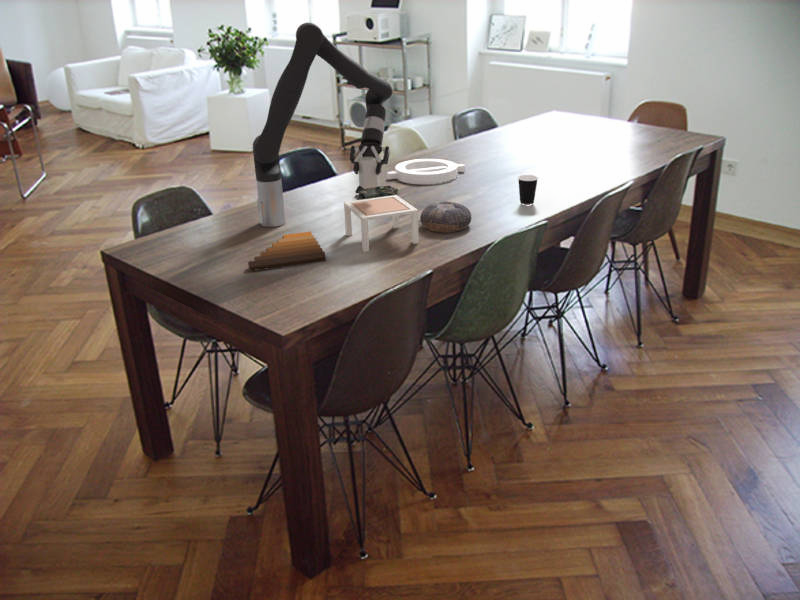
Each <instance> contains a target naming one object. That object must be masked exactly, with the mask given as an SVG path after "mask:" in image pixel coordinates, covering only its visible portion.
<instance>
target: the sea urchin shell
mask: <svg viewBox="0 0 800 600" xmlns="http://www.w3.org/2000/svg"><path fill="white" fill-rule="evenodd" d="M419 218H420V223H421V225H422V226H423V227H424V228H425V229H427V230H430V231H431V232H434V233H435V232H436V233H442V234H448V233H449V232H450V233H453V232H455V231H456V232H458V231H460V230H462V231H463V230H465V229H466V228H467V227H468V226H469V225H470V224H471V223H472V222H471V221H472V212H471V211H470V209H469V208H468V207H466V206H465V205H463V204H461V203H457V202H455V201H447V200H445V201H440V202H435V203H431V204H429V205H427V206H425V207H424V208H423V209H422V211H421V214H420V216H419ZM456 232H455V233H456ZM450 233H449V234H450Z"/></svg>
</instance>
